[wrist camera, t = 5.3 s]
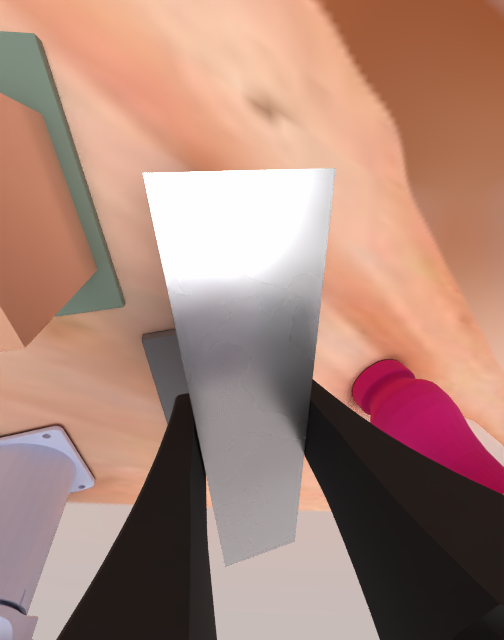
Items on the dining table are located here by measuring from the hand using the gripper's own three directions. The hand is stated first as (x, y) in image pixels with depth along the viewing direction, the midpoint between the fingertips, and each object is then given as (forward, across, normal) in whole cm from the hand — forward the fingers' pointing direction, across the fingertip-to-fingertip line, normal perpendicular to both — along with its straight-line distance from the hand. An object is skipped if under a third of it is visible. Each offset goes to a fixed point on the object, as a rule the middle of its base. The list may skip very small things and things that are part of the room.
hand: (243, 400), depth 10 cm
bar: (+3, 0, 0) cm, 3 cm away
